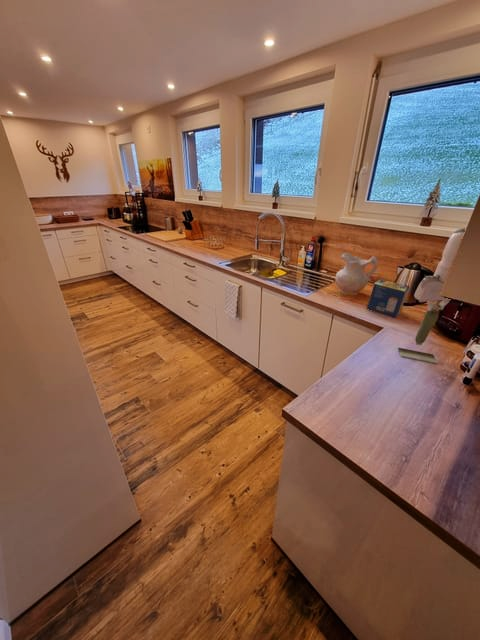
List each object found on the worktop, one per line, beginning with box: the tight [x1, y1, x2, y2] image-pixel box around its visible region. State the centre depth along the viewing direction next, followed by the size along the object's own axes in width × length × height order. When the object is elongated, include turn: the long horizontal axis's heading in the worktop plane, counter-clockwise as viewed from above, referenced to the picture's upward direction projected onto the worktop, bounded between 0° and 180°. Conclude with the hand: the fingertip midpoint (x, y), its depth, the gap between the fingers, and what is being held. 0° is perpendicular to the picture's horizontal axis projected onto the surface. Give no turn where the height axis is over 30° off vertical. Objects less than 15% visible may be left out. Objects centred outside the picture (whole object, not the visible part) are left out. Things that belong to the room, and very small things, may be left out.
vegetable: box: [414, 301, 441, 346], centre depth 104 cm, size 4×4×20 cm
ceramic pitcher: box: [335, 252, 379, 296], centre depth 164 cm, size 22×20×25 cm
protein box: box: [366, 278, 410, 319], centre depth 142 cm, size 10×15×16 cm
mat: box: [397, 347, 438, 365], centre depth 110 cm, size 13×11×1 cm
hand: (434, 309), depth 101 cm, fingers closed on vegetable, 3 cm apart
